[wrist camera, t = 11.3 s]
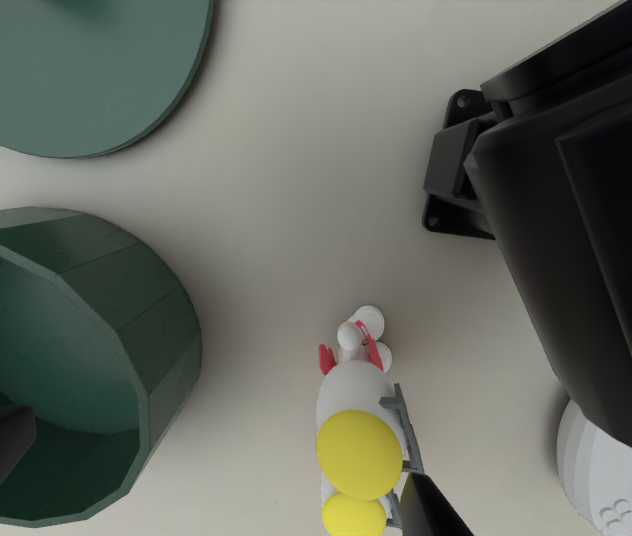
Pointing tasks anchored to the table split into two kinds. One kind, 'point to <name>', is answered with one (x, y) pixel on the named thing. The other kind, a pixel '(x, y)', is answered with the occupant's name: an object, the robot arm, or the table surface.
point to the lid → (94, 71)
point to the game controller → (595, 473)
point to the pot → (87, 360)
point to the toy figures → (362, 431)
